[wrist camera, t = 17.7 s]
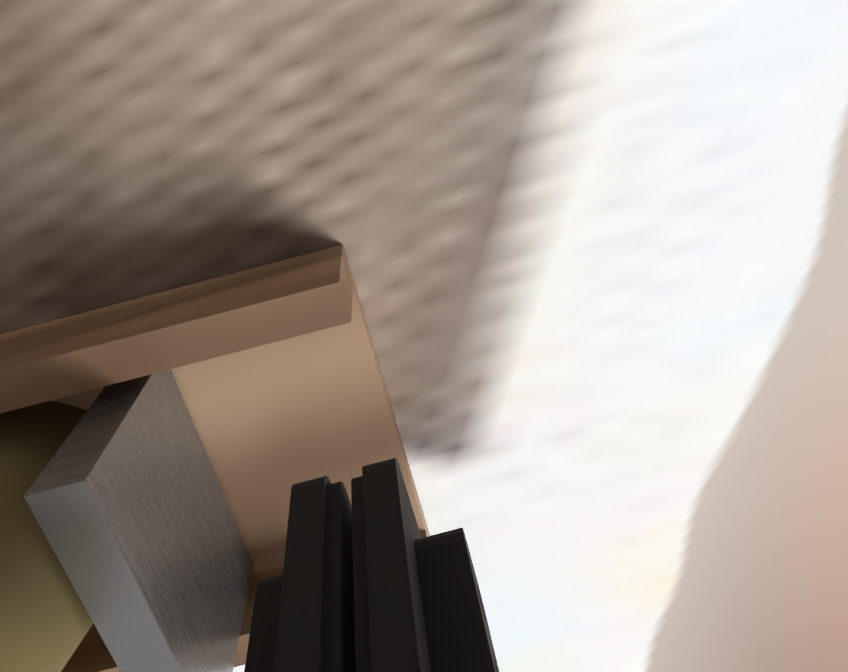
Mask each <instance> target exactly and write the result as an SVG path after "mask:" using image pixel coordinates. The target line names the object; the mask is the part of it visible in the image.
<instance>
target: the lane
mask: <svg viewBox="0 0 848 672" xmlns="http://www.w3.org/2000/svg"><path fill="white" fill-rule="evenodd" d="M169 369H171V371H172V373H173V375H174V378H175V380H176V383H177V385H178V387H179V390H180V392H181V394H182V397H183V399H184V401H185V404H186V406H187V409H188V411H189V413H190V416H191V418H192V420H193V423H194V425H195V427H196V430H197V432H198V435H199V437H200V439H201V442H202V444H203V446H204V449H205V451H206V453H207V456H208V458H209V461H210V463H211V465H212V468H213V470H214V472H215V475H216V477H217V479H218V482H219V484H220V487H221V489H222V491H223V494H224V496H225V498H226V501H227V503H228V505H229V508H230V510H231V513H232V515H233V517H234V520H235V522H236V524H237V527H238V529H239V531H240V534H241V536H242V539H243V541H244V543H245V546H246V548H247V550H248V553H249V555H250V557H251V560H252V562H253V565H254V568H253V573H252V578H251V583H250V588H249V593H248V598H247V602H246V607H245V612H244V617H243V622H242V627H241V632H240V637H239V641H238V646H237V651H236V656H235V661H234V666H233V667H236V666H240V665H244V664H246V657H247V650H248V643H249V635H250V628H251V621H252V614H253V607H254V600H255V593H256V589H257V585H258V583H259V582H260V580H263V579H267V578H271V577H274V576H278V575H282V574H283V568H284V557H285V547H286V537H287V527H288V516H289V506H290V496H291V488H292V485H293V484H296V483H300V482H304V481H308V480H312V479H315V478H319V477H323V476H327V477H328V478H329V479H330V481H331V484H333V483H337V482H340V481H342V482H343V484H344V486H345V488H346V491H347V494H348V497H349V500H350V502H351V505H352V498H351V479H352V478H356V477H360V476H362V467H363V466H365V465H369V464H373V463H377V462H381V461H385V460H388V459H392V458H396V459H397V461H398V463H399V466H400V469H401V473H402V476H403V479H404V482H405V486H406V489H407V492H408V495H409V499H410V502H411V505H412V508H413V512H414V515H415V518H416V521H417V525H418V528H419V531H420V534H421V537H422V538H425V537H429V536H430V535H429V531H428V528H427V525H426V521H425V518H424V515H423V511H422V508H421V505H420V501H419V498H418V495H417V491H416V488H415V485H414V481H413V478H412V475H411V471H410V468H409V465H408V461H407V458H406V454H405V451H404V448H403V444H402V441H401V438H400V434H399V431H398V428H397V424H396V421H395V418H394V414H393V411H392V408H391V404H390V401H389V398H388V394H387V391H386V388H385V384H384V381H383V378H382V374H381V371H380V368H379V364H378V361H377V357H376V354H375V351H374V347H373V344H372V341H371V337H370V334H369V331H368V327H367V324H366V321H365V317H364V314H363V311H362V307H361V304H360V301H359V297H358V294H357V291H356V287H355V284H354V281H353V277H352V274H351V271H350V267H349V264H348V261H347V257H346V254H345V250H344V247H343V244H342V245H338V246H335V247H331V248H327V249H323V250H319V251H315V252H312V253H308V254H304V255H300V256H296V257H293V258H289V259H285V260H281V261H277V262H274V263H270V264H266V265H262V266H258V267H254V268H251V269H247V270H243V271H239V272H235V273H232V274H228V275H224V276H220V277H216V278H212V279H209V280H205V281H201V282H197V283H193V284H190V285H186V286H182V287H178V288H174V289H171V290H167V291H163V292H159V293H155V294H151V295H148V296H144V297H140V298H136V299H132V300H129V301H125V302H121V303H117V304H113V305H110V306H106V307H102V308H98V309H94V310H90V311H87V312H83V313H79V314H75V315H71V316H68V317H64V318H60V319H56V320H52V321H49V322H45V323H41V324H37V325H33V326H29V327H26V328H22V329H18V330H14V331H10V332H7V333H3V334H0V413H4V412H8V411H12V410H16V409H20V408H23V407H27V406H31V405H35V404H39V403H43V402H46V401H57V402H60V403H63V404H67V405H70V406H74V407H77V408H80V409H84V410H88V409H89V408H90V406H91V405H92V404H93V402H94V401H95V400H96V398H97V397H98V396H99V394H100V393H101V391H102V390H103V389H104V387H105V386H108V385H112V384H116V383H119V382H123V381H127V380H131V379H135V378H139V377H143V376H146V375H150V374H154V373H158V372H162V371H166V370H169ZM61 672H120V670H119V668H118V666H117V665H116V663H115V661H114V659H113V657H112V656H111V654H110V652H109V650H108V648H107V647H106V645H105V643H104V641H103V639H102V638H101V636H100V634H99V632H98V630H97V628H96V627H95V625H94V623H93V625H92V626H91V628H90V629H89V631H88V632H87V634H86V635H85V637H84V638H83V640H82V641H81V643H80V644H79V646H78V647H77V649H76V650H75V652H74V653H73V655H72V656H71V658H70V659H69V661H68V662H67V664H66V665H65V666H64V668H63V669H62V671H61Z"/></svg>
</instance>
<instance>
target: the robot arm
mask: <svg viewBox="0 0 848 672" xmlns="http://www.w3.org/2000/svg"><path fill="white" fill-rule="evenodd" d="M351 498H352V505H351V502H350V500H349V497H348V494H347V491H346V488H345V486H344V484H343V482H342V481H340V482H337V483H333V484H331V481H330V479H329V478H328V477H327V476H323V477H319V478H315V479H312V480H308V481H304V482H300V483H296V484H293V485H292V488H291V496H290V506H289V516H288V527H287V537H286V547H285V557H284V568H283V574H282V575H278V576H274V577H271V578H267V579H263V580H260V582H259V583H258V585H257V589H256V593H255V600H254V607H253V614H252V621H251V628H250V635H249V643H248V650H247V657H246V664H245V671H244V672H499V669H498V665H497V661H496V657H495V652H494V648H493V644H492V640H491V635H490V631H489V627H488V623H487V619H486V614H485V610H484V606H483V602H482V598H481V594H480V590H479V586H478V582H477V579H476V575H475V571H474V567H473V563H472V560H471V556H470V552H469V549H468V545H467V542H466V538H465V534H464V531H463V528H459V529H455V530H452V531H448V532H444V533H440V534H436V535H432V536H429V537H425V538H422V537H421V534H420V531H419V528H418V525H417V521H416V518H415V515H414V512H413V508H412V505H411V502H410V499H409V495H408V492H407V489H406V486H405V482H404V479H403V476H402V473H401V469H400V466H399V463H398V461H397V459H396V458H392V459H388V460H385V461H381V462H377V463H373V464H369V465H365V466H363V467H362V476H360V477H356V478H352V479H351Z"/></svg>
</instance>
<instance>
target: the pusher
mask: <svg viewBox="0 0 848 672" xmlns="http://www.w3.org/2000/svg"><path fill="white" fill-rule="evenodd" d="M24 498H25V500H26V502H27V503H28V505H29V507H30V509H31V511H32V512H33V514H34V516H35V518H36V520H37V522H38V523H39V525H40V527H41V529H42V531H43V532H44V534H45V536H46V538H47V540H48V541H49V543H50V545H51V547H52V549H53V551H54V552H55V554H56V556H57V558H58V560H59V561H60V563H61V565H62V567H63V569H64V570H65V572H66V574H67V576H68V578H69V580H70V581H71V583H72V585H73V587H74V589H75V590H76V592H77V594H78V596H79V598H80V599H81V601H82V603H83V605H84V607H85V609H86V610H87V612H88V614H89V616H90V618H91V619H92V621H93V623H94V625H95V627H96V628H97V630H98V632H99V634H100V636H101V638H102V639H103V641H104V643H105V645H106V647H107V648H108V650H109V652H110V654H111V656H112V657H113V659H114V661H115V663H116V665H117V666H118V668H119V670H120V672H232V671H233V666H234V661H235V656H236V651H237V646H238V641H239V637H240V632H241V627H242V622H243V617H244V612H245V607H246V602H247V598H248V593H249V588H250V583H251V578H252V573H253V568H254V565H253V562H252V560H251V557H250V555H249V553H248V550H247V548H246V546H245V543H244V541H243V539H242V536H241V534H240V531H239V529H238V527H237V524H236V522H235V520H234V517H233V515H232V513H231V510H230V508H229V505H228V503H227V501H226V498H225V496H224V494H223V491H222V489H221V487H220V484H219V482H218V479H217V477H216V475H215V472H214V470H213V468H212V465H211V463H210V461H209V458H208V456H207V453H206V451H205V449H204V446H203V444H202V442H201V439H200V437H199V435H198V432H197V430H196V427H195V425H194V423H193V420H192V418H191V416H190V413H189V411H188V409H187V406H186V404H185V401H184V399H183V397H182V394H181V392H180V390H179V387H178V385H177V383H176V380H175V378H174V375H173V373H172V371H171V369H169V370H166V371H162V372H158V373H154V374H150V375H146V376H143V377H139V378H135V379H131V380H127V381H123V382H119V383H116V384H112V385H108V386H105V387H104V389H103V390H102V391H101V393H100V394H99V396H98V397H97V398H96V400H95V401H94V402H93V404H92V405H91V406H90V408H89V409H88V410H87V412H86V413H85V414H84V416H83V417H82V418H81V420H80V421H79V423H78V424H77V425H76V427H75V428H74V429H73V431H72V432H71V433H70V435H69V436H68V437H67V439H66V440H65V441H64V443H63V444H62V445H61V447H60V448H59V450H58V451H57V452H56V454H55V455H54V456H53V458H52V459H51V460H50V462H49V463H48V464H47V466H46V467H45V468H44V470H43V471H42V473H41V474H40V475H39V477H38V478H37V479H36V481H35V482H34V483H33V485H32V486H31V487H30V489H29V490H28V491H27V493H26V494H25V495H24Z"/></svg>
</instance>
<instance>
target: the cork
mask: <svg viewBox="0 0 848 672" xmlns="http://www.w3.org/2000/svg"><path fill="white" fill-rule="evenodd" d="M86 412H87V410H84V409H80V408H77V407H74V406H70V405H67V404H63V403H60V402H57V401H46V402H43V403H39V404H35V405H31V406H27V407H23V408H20V409H16V410H12V411H8V412H4V413H0V672H61V671H62V669H63V668H64V666H65V665H66V664H67V662H68V661H69V659H70V658H71V656H72V655H73V653H74V652H75V650H76V649H77V647H78V646H79V644H80V643H81V641H82V640H83V638H84V637H85V635H86V634H87V632H88V631H89V629H90V628H91V626H92V625H93V621H92V619H91V618H90V616H89V614H88V612H87V610H86V609H85V607H84V605H83V603H82V601H81V599H80V598H79V596H78V594H77V592H76V590H75V589H74V587H73V585H72V583H71V581H70V580H69V578H68V576H67V574H66V572H65V570H64V569H63V567H62V565H61V563H60V561H59V560H58V558H57V556H56V554H55V552H54V551H53V549H52V547H51V545H50V543H49V541H48V540H47V538H46V536H45V534H44V532H43V531H42V529H41V527H40V525H39V523H38V522H37V520H36V518H35V516H34V514H33V512H32V511H31V509H30V507H29V505H28V503H27V502H26V500H25V498H24V495H25V494H26V493H27V491H28V490H29V489H30V487H31V486H32V485H33V483H34V482H35V481H36V479H37V478H38V477H39V475H40V474H41V473H42V471H43V470H44V468H45V467H46V466H47V464H48V463H49V462H50V460H51V459H52V458H53V456H54V455H55V454H56V452H57V451H58V450H59V448H60V447H61V445H62V444H63V443H64V441H65V440H66V439H67V437H68V436H69V435H70V433H71V432H72V431H73V429H74V428H75V427H76V425H77V424H78V423H79V421H80V420H81V418H82V417H83V416H84V414H85V413H86Z"/></svg>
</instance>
